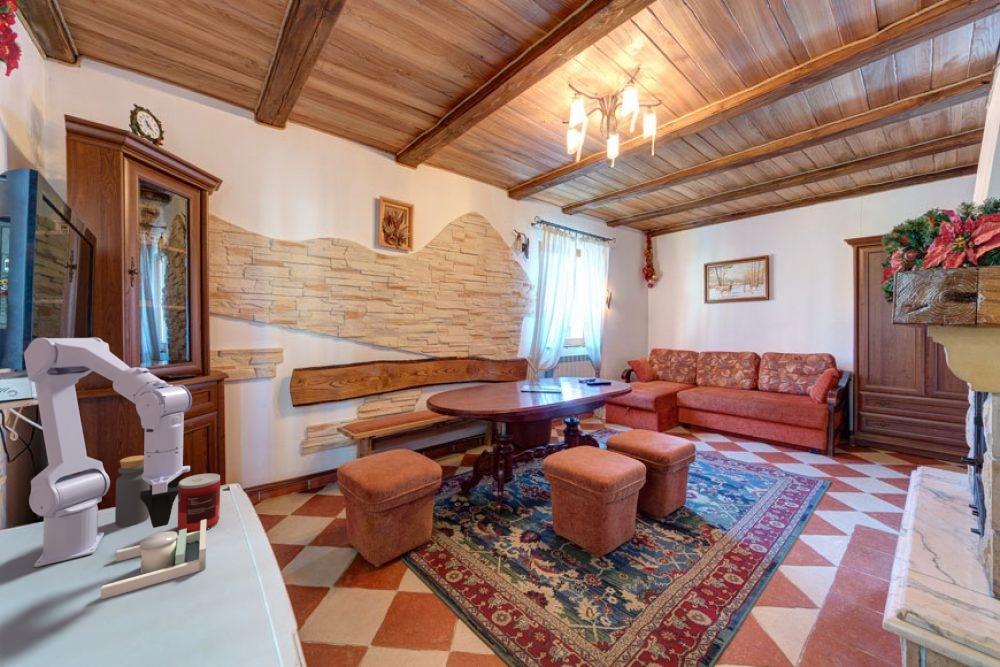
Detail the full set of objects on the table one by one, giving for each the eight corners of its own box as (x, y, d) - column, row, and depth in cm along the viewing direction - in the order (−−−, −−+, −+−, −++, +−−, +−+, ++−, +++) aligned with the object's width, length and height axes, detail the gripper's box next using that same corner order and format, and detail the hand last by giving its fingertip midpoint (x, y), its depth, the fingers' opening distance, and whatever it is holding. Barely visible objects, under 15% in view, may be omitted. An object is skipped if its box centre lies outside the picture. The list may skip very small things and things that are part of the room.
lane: (117, 559, 75) (117, 539, 75) (206, 537, 83) (206, 519, 83) (100, 599, 64) (101, 576, 64) (205, 569, 72) (205, 548, 72)
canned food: (199, 516, 92) (200, 472, 92) (228, 519, 91) (228, 474, 91) (167, 532, 85) (168, 484, 85) (198, 536, 84) (199, 486, 84)
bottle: (127, 528, 86) (129, 463, 86) (108, 525, 88) (109, 461, 88) (155, 516, 92) (156, 455, 92) (137, 513, 93) (138, 453, 93)
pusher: (179, 545, 80) (179, 530, 80) (186, 543, 80) (186, 528, 80) (175, 572, 71) (175, 555, 71) (183, 570, 71) (183, 553, 71)
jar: (141, 563, 74) (142, 537, 74) (177, 553, 77) (178, 528, 77) (137, 577, 69) (138, 549, 69) (176, 567, 73) (176, 540, 73)
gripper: (188, 454, 70) (187, 526, 70) (191, 436, 82) (190, 499, 82) (136, 462, 66) (135, 538, 66) (147, 442, 78) (146, 507, 78)
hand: (162, 517), depth 74 cm, fingers open, 7 cm apart
